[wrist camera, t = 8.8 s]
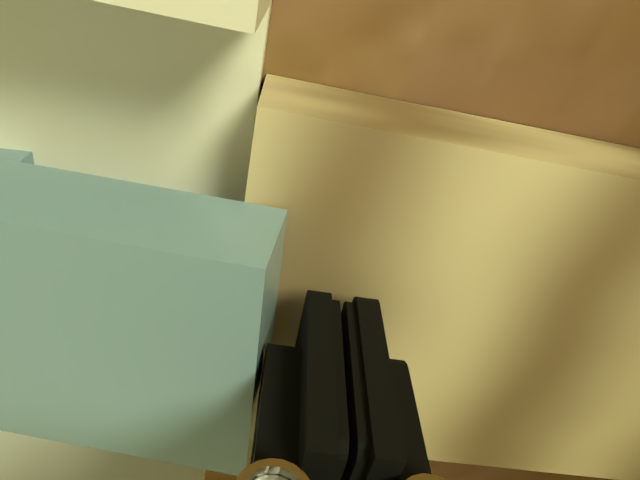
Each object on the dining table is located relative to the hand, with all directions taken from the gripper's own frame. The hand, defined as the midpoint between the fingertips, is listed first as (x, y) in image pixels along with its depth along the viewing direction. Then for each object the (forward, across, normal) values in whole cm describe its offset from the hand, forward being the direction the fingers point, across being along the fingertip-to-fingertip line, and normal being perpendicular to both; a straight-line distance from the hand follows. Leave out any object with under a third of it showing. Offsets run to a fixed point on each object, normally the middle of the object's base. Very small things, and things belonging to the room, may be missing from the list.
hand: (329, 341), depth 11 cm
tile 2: (+1, +4, 0) cm, 4 cm away
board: (+3, -7, 0) cm, 7 cm away
